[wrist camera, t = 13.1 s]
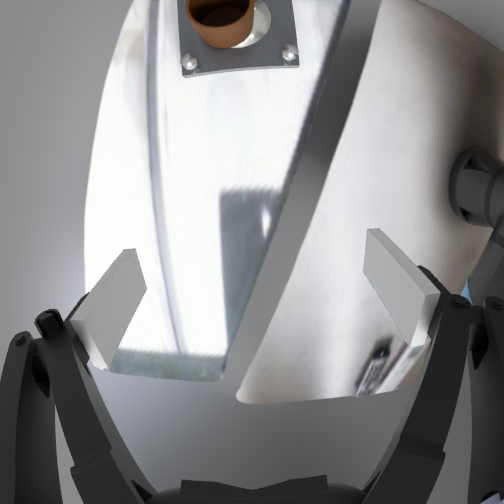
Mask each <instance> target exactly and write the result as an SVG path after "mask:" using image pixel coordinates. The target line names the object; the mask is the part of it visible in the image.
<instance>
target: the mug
mask: <svg viewBox="0 0 504 504" xmlns="http://www.w3.org/2000/svg"><path fill="white" fill-rule="evenodd" d="M257 1H258V0H187V1H186V13H187V16H188V19H189V21H190V23H191V24H192V26H193V27H194V29H195V30H196V32H197V33H198V35H199V36H200V38H201V39H202V40H203V41H204V42H205V43H207V44H208V45H210V46H213V47H217V48H230V47H234V46H237V45H239V44H241V43H242V42H244V41H245V40H246V39H247V38H248V37H249V35H250V34H251V31H252V28H253V21H254V3H256V2H257Z"/></svg>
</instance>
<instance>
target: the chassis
mask: <svg viewBox="0 0 504 504" xmlns="http://www.w3.org/2000/svg"><path fill="white" fill-rule="evenodd" d="M186 1H187V0H177V2H178V21H179V37H180V51H181V60H180V62H181V65H182V75H183V77H185V78H188V77H194V76H200V75H207V74H214V73H223V72H232V71H242V70H255V69H273V68H298V67H299V56H298V47H297V38H296V30H295V22H294V14H293V7H292V0H258V1H257V2H256V3H254V21H253V28H252V31H251V34H250V35H249V37H248V38H247V39H246V40H245V41H244V42H242V43H241V44H239V45H237V46H234V47H230V48H217V47H213V46H210V45H208V44H207V43H205V42H204V41H203V40H202V39H201V38H200V36H199V35H198V33H197V32H196V30H195V29H194V27H193V26H192V24H191V23H190V21H189V19H188V16H187V13H186Z"/></svg>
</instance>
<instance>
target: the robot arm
mask: <svg viewBox="0 0 504 504" xmlns="http://www.w3.org/2000/svg"><path fill="white" fill-rule="evenodd" d="M449 195H450V201H451V205H452V207H453V210H454V211H455V213H456V214H457V216H458V217H459V218H461V219H462V220H464V221H465V222H467V223H469V224H471V225H476V226H484V227H491V228H493V229H494V230H493V232H492V234H491V236H490V238H489V241H488V243H487V245H486V247H485V249H484V251H483V253H482V255H481V257H480V259H479V261H478V263H477V264H476V266H475V268H474V270H473V272H472V274H471V276H470V277H468V279H467V282H466V285H465V287H464V289H463V291H462V293H461V295H456V294H452V295H451V293H450V292H449V291H448V290H447V289H446V288H445V287H444V286H443V285H442V284H441V283H440V281H438V279H437V278H436V277H434V275H433V274H432V273H431V272H430V271H429V270H428V269H426V268H424V267H422V266H421V265H420V266H416V265H415V264H414V263H413V262H412V261H411V260H410V259H409V258H408V257H407V256H406V254H405V253H404V252H403V251H402V250H401V249H400V248H399V247H398V246H397V245H396V244H395V243H394V242H393V241H392V240H391V239H390V238H389V237H388V236H387V235H386V234H385V233H384V232H382V231H381V230H380V229H379V228H375V229H367V237H366V249H365V260H364V269H363V272H364V274H365V275H366V277H367V278H368V280H369V282H370V283H371V285H372V286H373V288H374V289H375V291H376V293H377V294H378V296H379V297H380V299H381V301H382V302H383V304H384V305H385V307H386V309H387V310H388V312H389V314H390V315H391V317H392V319H393V320H394V322H395V324H396V325H397V327H398V329H399V330H400V332H401V334H402V336H403V337H404V339H405V341H406V343H407V344H408V346H409V348H411V347H415V346H419V345H423V344H424V342H425V339H426V337H427V334H428V335H429V337H430V338H431V342H430V345H429V347H428V350H427V352H426V355H425V357H424V358H425V360H424V363H423V366H422V369H421V372H420V374H419V377H418V380H417V382H416V385H415V388H414V390H413V393H412V395H411V398H410V400H409V402H408V405H407V407H406V410H405V412H404V414H403V416H402V418H401V421H400V423H399V425H398V427H397V429H396V431H395V433H394V435H393V437H392V439H391V441H390V443H389V445H388V447H387V449H386V451H385V453H384V454H383V456H382V458H381V460H380V462H379V463H378V465H377V467H376V469H375V470H374V472H373V474H372V475H371V476H370V478H369V480H368V481H367V483H366V484H365V485H364V487H363V488H362V490H359V489H358V488H355V487H353V486H350V485H346V484H343V483H337V482H327V476H326V475H322V476H315V477H308V478H300V479H291V480H287V481H284V482H281V483H278V484H274V485H271V486H267V487H264V488H260V489H255V490H250V489H244V488H240V487H235V486H231V485H226V484H222V483H218V482H206V481H191V480H182V481H181V487H176V488H172V489H168V490H165V491H162V492H160V493H158V492H157V491H156V490H155V489H154V488H153V486H152V485H151V484H150V483H149V482H148V480H147V479H146V477H145V476H144V474H143V473H142V472H141V470H140V468H139V467H138V465H137V463H136V462H135V460H134V458H133V457H132V455H131V454H130V452H129V450H128V448H127V446H126V445H125V443H124V441H123V439H122V437H121V436H120V434H119V432H118V430H117V428H116V426H115V424H114V422H113V420H112V418H111V416H110V414H109V412H108V410H107V408H106V406H105V404H104V402H103V399H102V397H101V395H100V393H99V390H98V388H97V386H96V383H95V381H94V379H93V376H92V374H91V372H90V369H89V367H88V366H87V362H88V360H89V358H90V360H91V361H92V363H93V365H94V366H95V367H99V368H109V366H110V364H111V362H112V359H113V357H114V355H115V353H116V351H117V348H118V346H119V344H120V342H121V340H122V338H123V336H124V334H125V332H126V330H127V328H128V326H129V323H130V321H131V319H132V317H133V315H134V313H135V311H136V309H137V307H138V306H139V304H140V302H141V300H142V298H143V296H144V294H145V292H146V290H147V287H146V284H145V281H144V277H143V274H142V270H141V267H140V263H139V260H138V256H137V252H136V248H134V249H124V250H123V251H122V253H121V254H120V255H119V256H118V257H117V259H116V260H115V261H114V262H113V264H112V265H111V266H110V267H109V269H108V270H107V271H106V272H105V274H104V275H103V276H102V277H101V279H100V280H99V281H98V282H97V284H96V285H95V286H94V288H93V289H92V290H91V292H88V293H87V294H86V295H84V296H83V297H82V298H81V299H80V300H79V302H78V303H77V305H76V306H75V307H74V308H73V310H72V311H71V313H70V314H69V315H68V317H67V318H66V319H65V321H64V322H63V320H62V318H61V316H60V314H59V312H58V310H56V309H49V310H46V311H44V312H42V313H41V314H40V315H38V316H37V318H36V319H35V322H34V323H35V326H36V327H37V329H38V331H39V333H40V334H41V336H42V338H38V339H33V337H32V335H31V334H30V333H29V332H27V331H24V332H21V333H18V334H17V335H15V336H14V338H13V339H12V340H11V342H10V345H9V349H8V352H7V356H6V359H5V363H4V367H3V371H2V376H1V380H0V504H63V501H62V495H61V489H60V482H59V474H58V465H57V455H56V437H55V405H56V408H57V412H58V416H59V419H60V422H61V426H62V429H63V432H64V436H65V439H66V441H67V445H68V447H69V450H70V453H71V456H72V458H73V461H74V464H75V465H74V466H73V467H71V470H70V471H71V475H72V478H73V480H74V483H75V485H76V487H77V490H78V492H79V494H80V496H81V499H82V501H83V503H84V504H426V503H427V500H428V498H429V496H430V494H431V492H432V490H433V487H434V485H435V483H436V480H437V478H438V476H439V473H440V470H441V468H442V465H443V463H444V459H445V452H444V451H443V447H444V444H445V441H446V438H447V435H448V432H449V428H450V425H451V422H452V418H453V415H454V411H455V407H456V404H457V399H458V395H459V391H460V387H461V382H462V377H463V371H464V366H465V361H466V355H467V357H468V365H469V376H470V386H471V403H472V450H471V466H470V476H469V486H468V504H504V161H503V160H501V159H500V158H499V157H498V156H497V155H496V154H494V153H493V152H492V151H490V150H488V149H485V148H481V147H471V148H469V149H467V150H465V151H464V152H463V153H462V154H461V155H460V156H459V158H458V159H457V161H456V162H455V164H454V167H453V169H452V173H451V177H450V183H449Z"/></svg>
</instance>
